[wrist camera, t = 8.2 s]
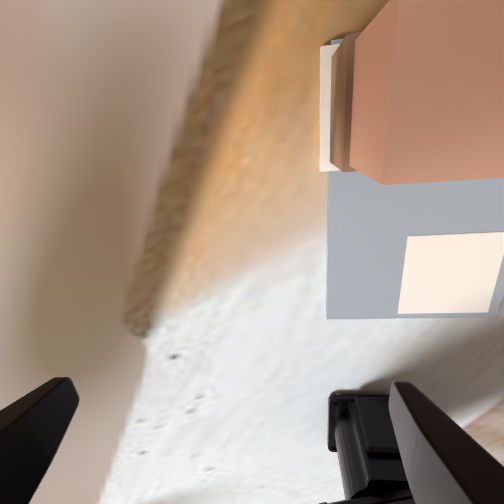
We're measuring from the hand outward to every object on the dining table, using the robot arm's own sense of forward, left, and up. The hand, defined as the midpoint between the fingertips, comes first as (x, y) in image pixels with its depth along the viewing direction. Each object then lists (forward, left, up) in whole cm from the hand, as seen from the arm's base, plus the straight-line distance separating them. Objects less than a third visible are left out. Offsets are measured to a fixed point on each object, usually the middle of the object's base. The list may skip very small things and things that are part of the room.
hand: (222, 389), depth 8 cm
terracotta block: (+7, -7, -8) cm, 12 cm away
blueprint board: (+2, -10, -12) cm, 16 cm away
